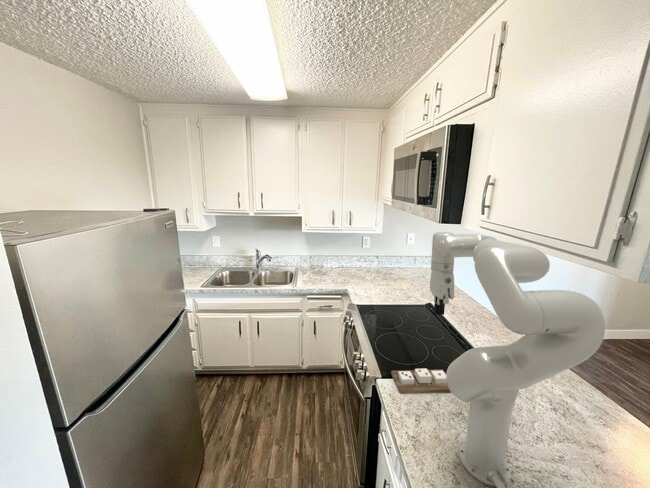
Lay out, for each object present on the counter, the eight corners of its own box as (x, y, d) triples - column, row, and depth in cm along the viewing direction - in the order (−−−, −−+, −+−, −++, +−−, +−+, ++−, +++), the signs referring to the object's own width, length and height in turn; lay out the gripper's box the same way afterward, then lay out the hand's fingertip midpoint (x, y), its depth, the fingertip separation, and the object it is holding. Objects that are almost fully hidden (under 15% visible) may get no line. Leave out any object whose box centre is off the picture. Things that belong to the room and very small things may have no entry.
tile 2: (431, 382, 105) (431, 375, 104) (419, 383, 105) (419, 376, 104) (426, 374, 110) (426, 368, 109) (414, 375, 109) (414, 368, 109)
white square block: (414, 385, 105) (414, 378, 104) (401, 386, 105) (402, 379, 104) (409, 377, 110) (410, 370, 109) (398, 377, 109) (398, 371, 109)
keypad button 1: (448, 385, 105) (448, 377, 104) (435, 385, 105) (436, 378, 104) (442, 376, 110) (442, 370, 109) (430, 377, 110) (431, 370, 109)
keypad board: (457, 392, 102) (457, 389, 101) (399, 393, 101) (399, 390, 101) (442, 372, 114) (443, 369, 113) (391, 373, 113) (391, 370, 113)
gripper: (463, 271, 86) (459, 322, 89) (442, 261, 101) (439, 306, 104) (441, 271, 86) (438, 323, 89) (423, 261, 101) (421, 306, 104)
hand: (438, 313), depth 96 cm, fingers closed
